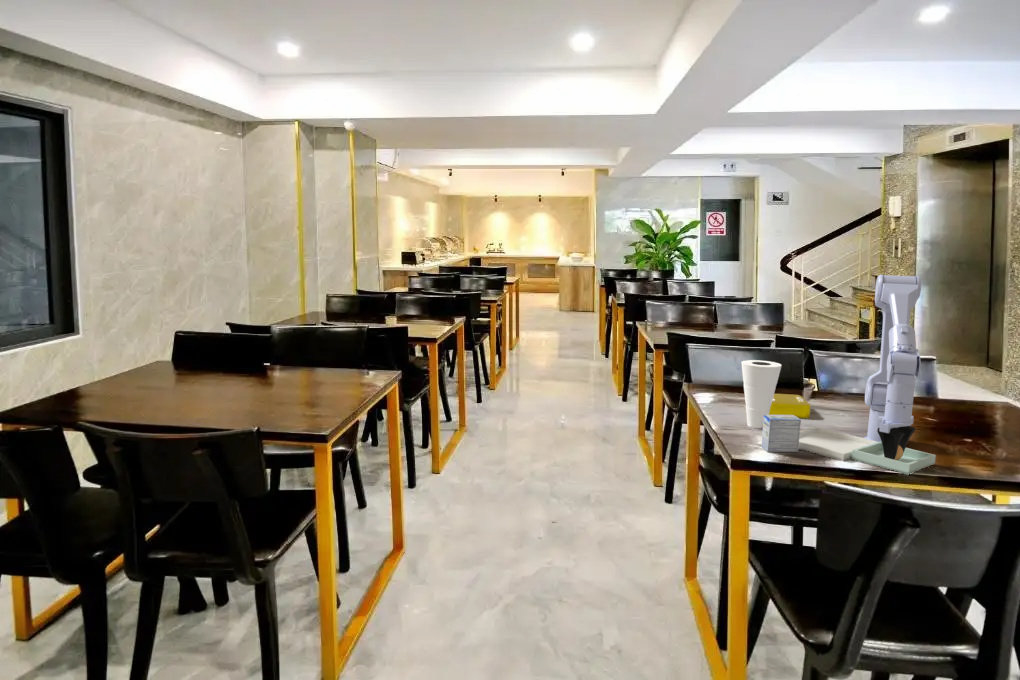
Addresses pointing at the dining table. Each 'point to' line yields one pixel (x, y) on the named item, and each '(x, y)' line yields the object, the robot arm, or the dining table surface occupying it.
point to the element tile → (790, 405)
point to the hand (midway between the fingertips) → (893, 456)
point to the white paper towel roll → (759, 389)
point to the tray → (830, 442)
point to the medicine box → (781, 433)
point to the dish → (906, 464)
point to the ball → (899, 453)
